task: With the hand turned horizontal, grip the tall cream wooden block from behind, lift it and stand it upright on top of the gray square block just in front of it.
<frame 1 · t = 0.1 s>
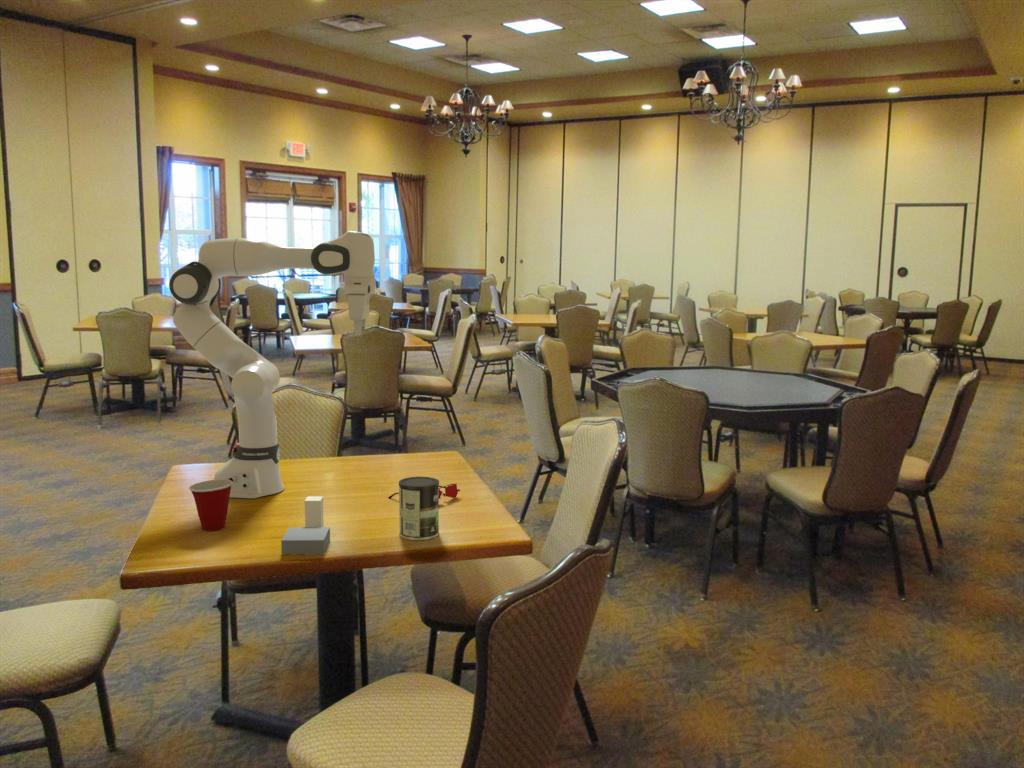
hand: (360, 333, 256), 48 cm above the table, tool pointing down, fingers open, 8 cm apart
coffee can: (418, 535, 223), on the table
cream block: (314, 532, 223), on the table
plastic cup: (212, 528, 225), on the table
gray square block: (306, 549, 211), on the table
glasses: (424, 499, 256), on the table
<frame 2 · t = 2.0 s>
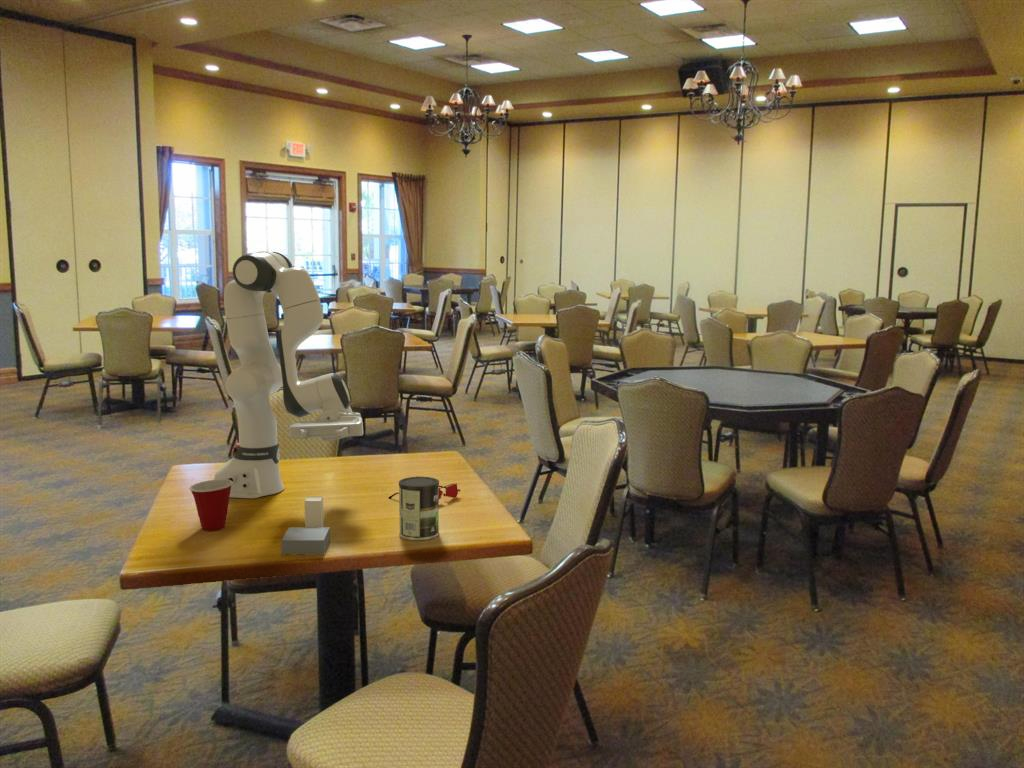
hand: (321, 435, 231), 23 cm above the table, tool horizontal, fingers open, 8 cm apart
nothing on the table moved.
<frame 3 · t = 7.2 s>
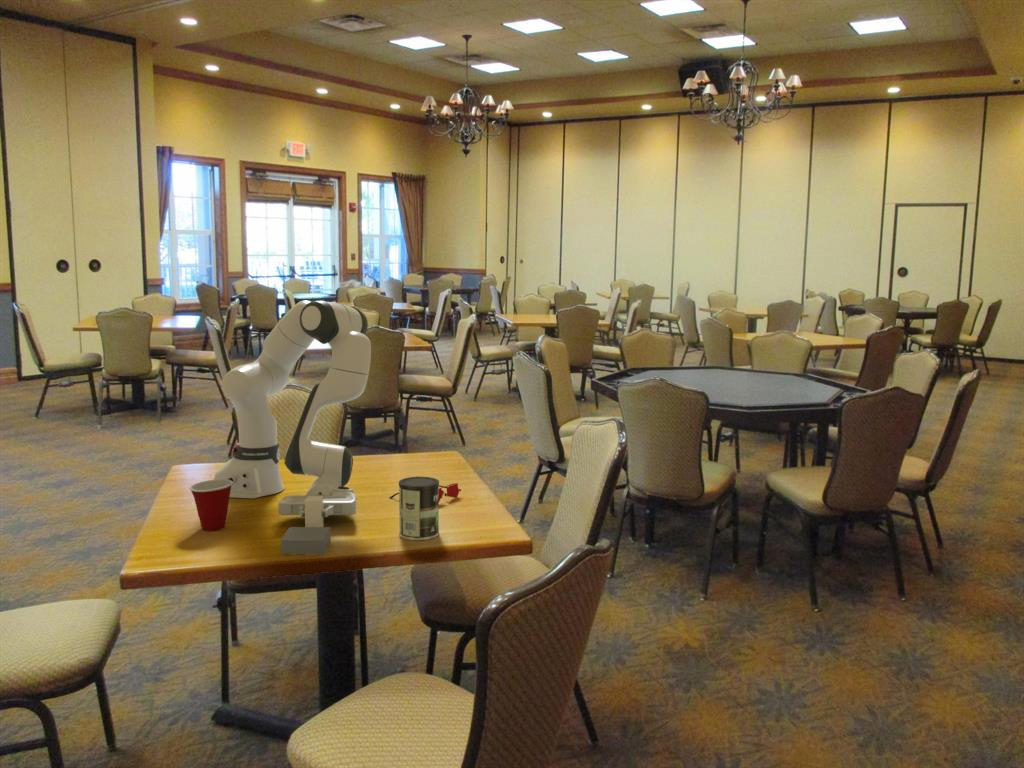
hand: (313, 514, 221), 5 cm above the table, tool horizontal, fingers closed on cream block, 4 cm apart
cream block: (314, 532, 223), on the table, touching gripper
everything else where it was.
when the fingers open (10 cm above the table, at t = 12.3 s): cream block drops 1 cm, point 4 cm above the table.
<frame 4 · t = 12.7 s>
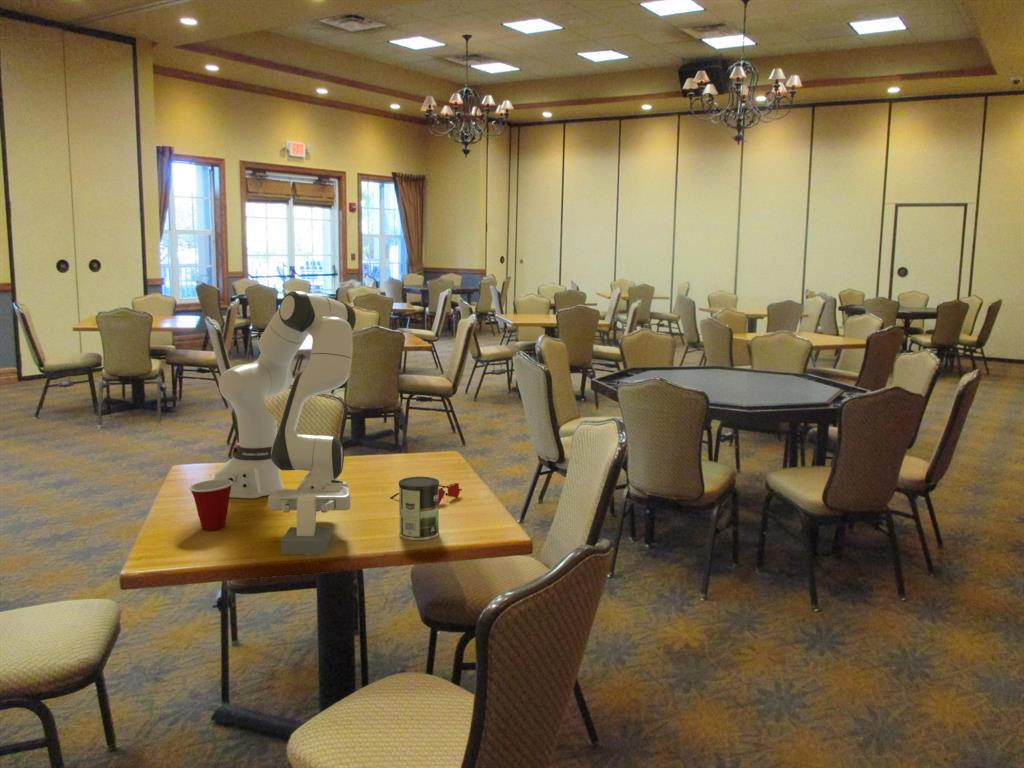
hand: (305, 509, 209), 10 cm above the table, tool horizontal, fingers open, 8 cm apart
cream block: (306, 533, 211), point 4 cm above the table
everything else where it was.
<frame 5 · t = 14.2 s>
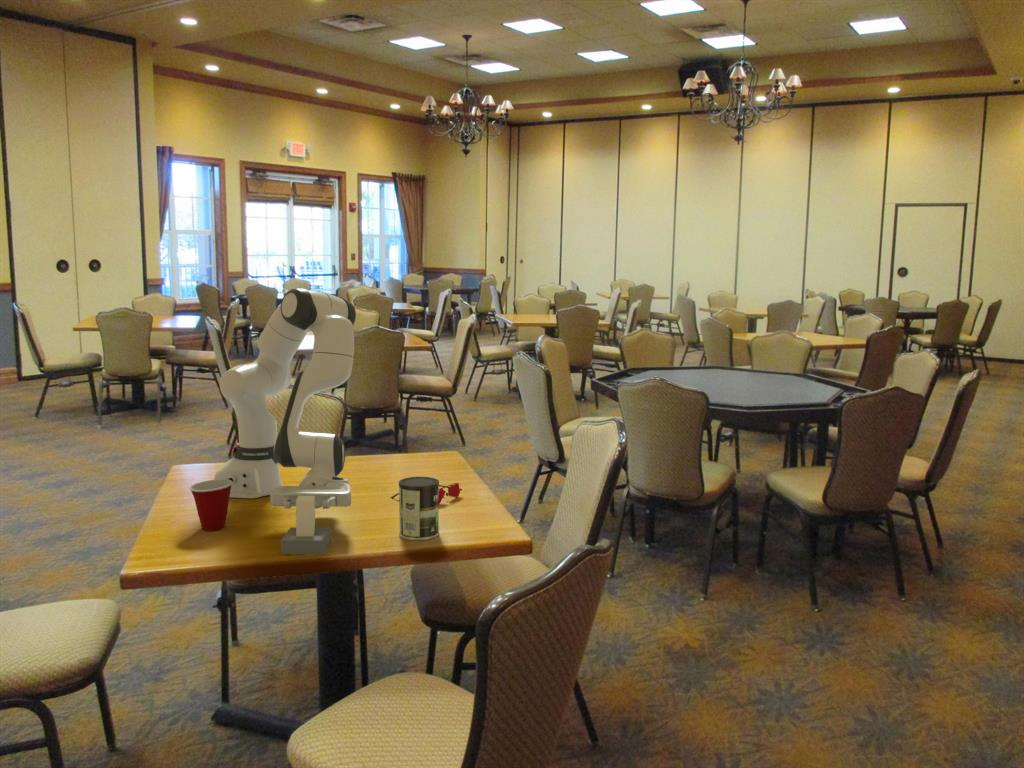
hand: (306, 505, 212), 10 cm above the table, tool horizontal, fingers open, 8 cm apart
cream block: (305, 533, 211), point 4 cm above the table, touching gray square block
gray square block: (306, 549, 211), on the table, touching cream block
everything else where it was.
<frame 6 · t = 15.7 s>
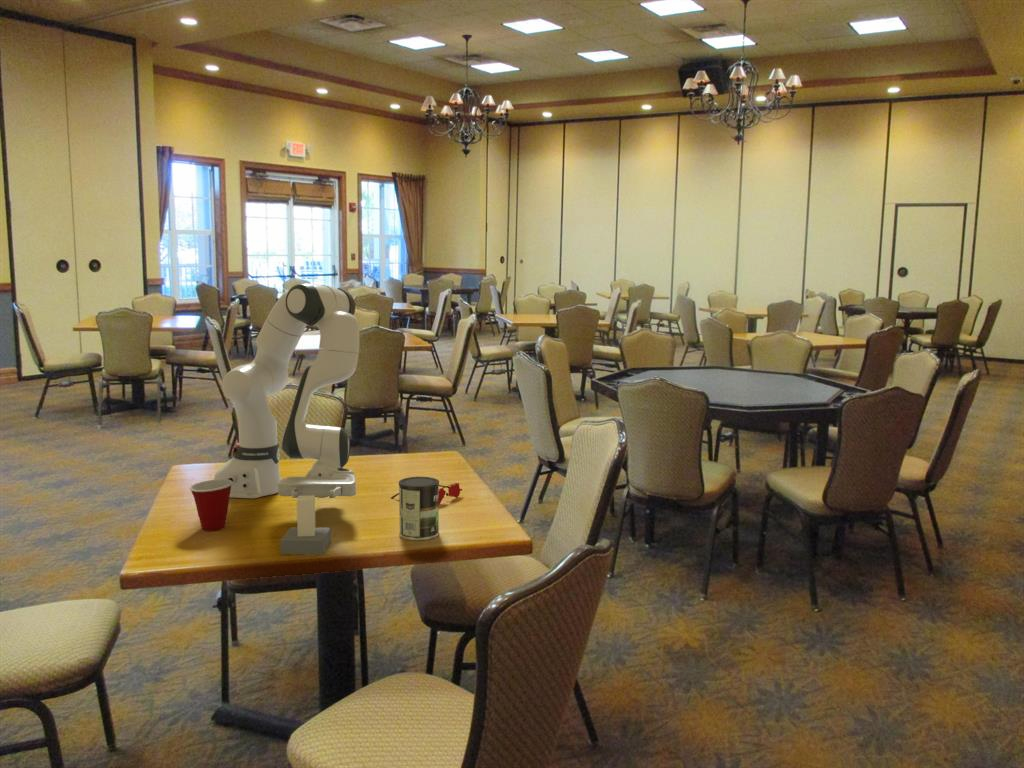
hand: (313, 495, 221), 10 cm above the table, tool horizontal, fingers open, 8 cm apart
nothing on the table moved.
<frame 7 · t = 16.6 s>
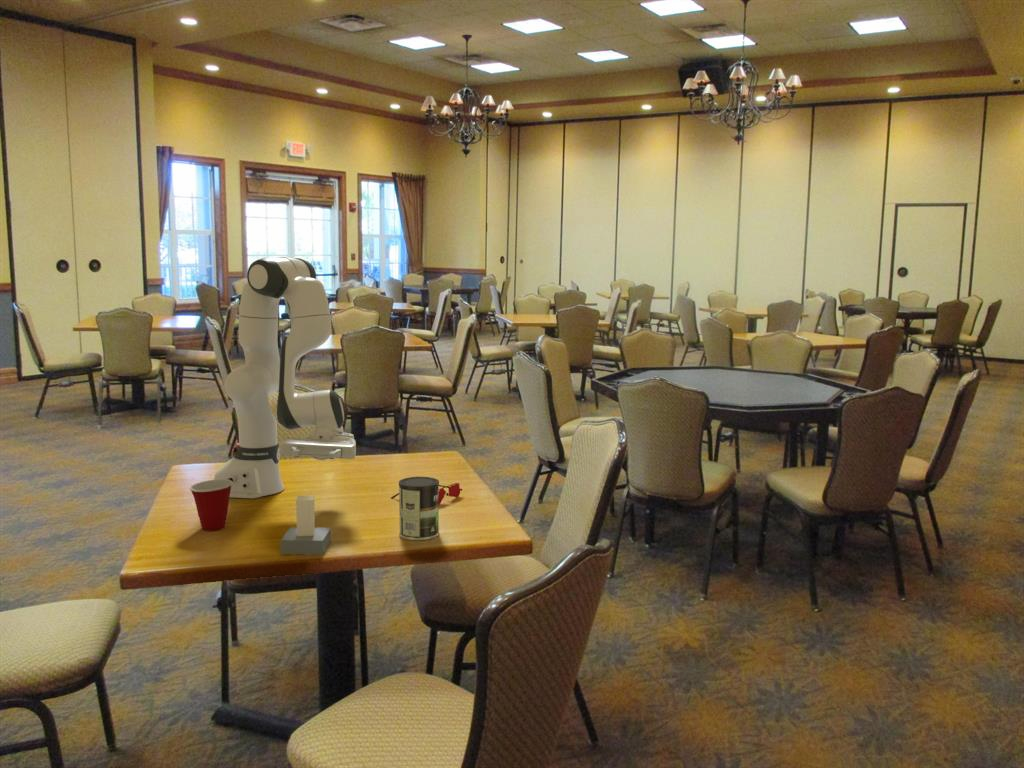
hand: (313, 455, 226), 19 cm above the table, tool horizontal, fingers open, 8 cm apart
cream block: (305, 533, 211), point 4 cm above the table
gray square block: (306, 549, 211), on the table
everything else where it was.
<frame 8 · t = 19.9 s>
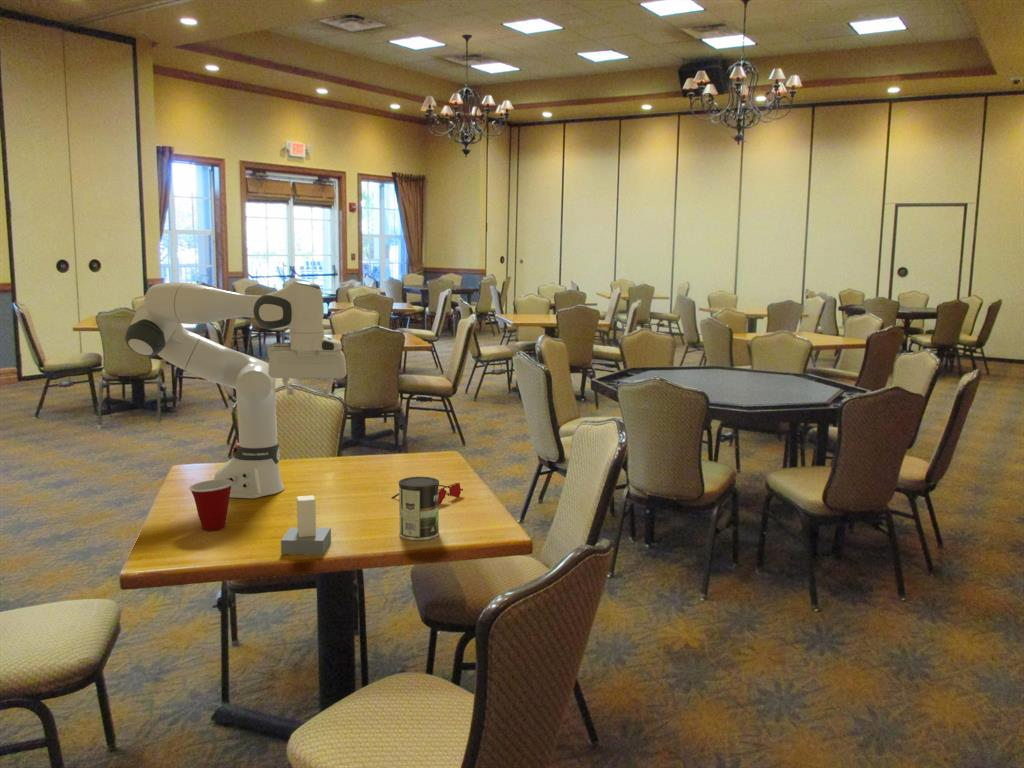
hand: (308, 394, 229), 34 cm above the table, tool pointing down, fingers open, 8 cm apart
at the end: cream block 0.1 cm off-centre on the gray square block, point 4.0 cm above the gray square block's base; cream block tilted 0°; gray square block moved 0.5 cm from its start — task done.
